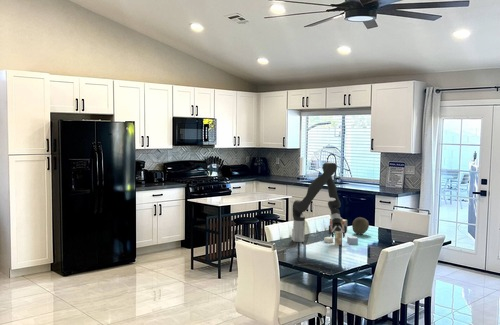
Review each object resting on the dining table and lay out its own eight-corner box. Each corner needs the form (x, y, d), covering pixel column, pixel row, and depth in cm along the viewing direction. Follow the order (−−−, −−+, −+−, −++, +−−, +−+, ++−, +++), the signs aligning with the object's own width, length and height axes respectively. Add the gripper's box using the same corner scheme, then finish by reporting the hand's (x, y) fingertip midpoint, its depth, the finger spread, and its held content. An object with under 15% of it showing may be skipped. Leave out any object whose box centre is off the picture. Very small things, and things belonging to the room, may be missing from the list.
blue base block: (349, 244, 383) (349, 238, 382) (347, 242, 390) (347, 236, 389) (357, 244, 383) (358, 238, 382) (355, 242, 390) (355, 236, 389)
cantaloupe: (360, 236, 413) (361, 219, 412) (348, 233, 424) (349, 216, 424) (371, 235, 420) (372, 218, 419) (359, 232, 432) (360, 215, 431)
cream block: (324, 241, 389) (324, 237, 389) (328, 241, 392) (328, 236, 392) (328, 243, 385) (329, 238, 385) (332, 242, 388) (333, 237, 388)
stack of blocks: (341, 228, 445) (341, 215, 445) (347, 229, 441) (347, 216, 441) (329, 232, 429) (329, 218, 429) (335, 233, 425) (335, 219, 424)
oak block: (335, 244, 379) (336, 232, 378) (334, 243, 383) (335, 231, 383) (341, 244, 379) (341, 232, 378) (340, 243, 383) (340, 231, 383)
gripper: (328, 217, 388) (330, 234, 378) (345, 217, 388) (348, 234, 378) (327, 222, 394) (328, 239, 383) (344, 223, 394) (346, 239, 383)
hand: (338, 237), depth 381 cm, fingers open, 8 cm apart
